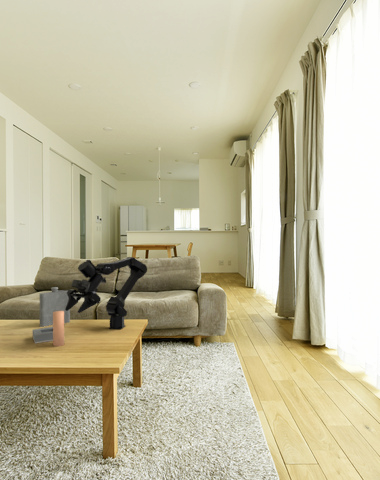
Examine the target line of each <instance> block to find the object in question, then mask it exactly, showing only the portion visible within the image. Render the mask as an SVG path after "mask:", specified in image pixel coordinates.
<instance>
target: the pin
mask: <svg viewBox="0 0 380 480" xmlns="http://www.w3.org/2000/svg"><path fill="white" fill-rule="evenodd" d="M52 327H53V341H52V345H53V347H62V346H64V345H65V323H64V311H55V312H53V325H52Z"/></svg>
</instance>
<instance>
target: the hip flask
mask: <svg viewBox="0 0 380 480" xmlns="http://www.w3.org/2000/svg"><path fill="white" fill-rule="evenodd" d="M50 289H51V291H50V292H48V291H47V292H40V293H39V327H40V328H45V327H50V326H53V312H55V311H64V324H67V323H71V309H69V310H68V311H66V310H65V309H66V306H67V303H68V299H69V298H68V296H67V291H68V290H65V289H64V290H59V287H55V286H54V287H53V286H52V287H51V288H50ZM49 325H50V326H49ZM44 326H45V327H44Z"/></svg>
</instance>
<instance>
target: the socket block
mask: <svg viewBox="0 0 380 480" xmlns="http://www.w3.org/2000/svg"><path fill="white" fill-rule="evenodd" d="M32 339H33V341H34V344H38V343H45V342H47V343H48V342H53V326H47V327H40V328H34V329H32Z"/></svg>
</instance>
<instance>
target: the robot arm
mask: <svg viewBox="0 0 380 480" xmlns="http://www.w3.org/2000/svg"><path fill="white" fill-rule="evenodd" d="M126 267H128V268H129V270H130V272H129V277H128V278H127V279H126V281H125V282H124V284H123V286H121V289H120V290H119V291H118V293H117V294H116V296H110V298H109V299H108V301H107V302H106V305H105V309H106V313H107V314H108V317H109V316H110V317H109V330H123V328H125V327H126V325H125V317H126V316H127V314H128V311H127V310H126V308H125V305H126V303H125V302H126V299H127V298H128V296H129V294H131V291H132V290H133V288H134V287H135V285H136V284H137V282H138V280H139V279H141V278H143V277H144V276H145V275H146V274H147V272H148V267H147V265H146V264H145V263H143V262H142V261H140V260H139V259H137V258H135V257H134V256H132V257H131V256H128V257H126V258H122V259H119V260H116V261H112V262H98V263H97V264H96V265H94V263H93V262H92V260H91V259H87V260H85V261H83V262H81V264H79V265H78V267H77V270H78V271H79V272H80V273H81V274H82V276H84V277H85V278H86V279H81V280H79V279H73V280H72V283H71V285H70V287H72V288H74V289H68V290H66V291H67V296H68V298H69V299H68V303H67V306H66V309H65V310H66V311H68V310H69V309H70V310H71V309H73V307H74V306H76V305H77V304H78V303H79V301H81V299H83V302H82V303H81V305H80V306H79V308H78V310H77V313H78V314H81V313H83V312H84V311H86V310H87V309H89V308H92V307H94V306H96V305H99V303H101V301H102V300H101V297H100V296H99V294H98V293H97V292H98V291H99V289H98V288H99V286H100V285H101V284H103V283H104V284H106V283H107V280H106V277H105V276H109V275H112V274H113V273H114V272H115V271H116V270H119V269H123V268H126ZM87 278H88V279H87ZM76 289H77V290H76Z"/></svg>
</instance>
